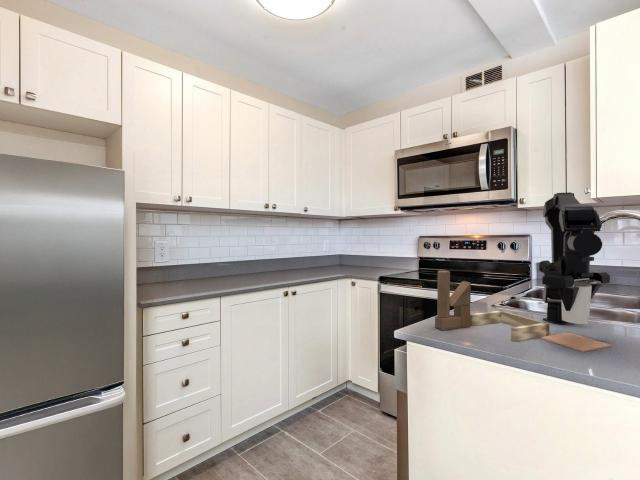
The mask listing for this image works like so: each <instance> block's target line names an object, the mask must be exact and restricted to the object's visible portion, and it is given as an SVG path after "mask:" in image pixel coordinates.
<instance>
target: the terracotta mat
mask: <svg viewBox="0 0 640 480" xmlns="http://www.w3.org/2000/svg"><path fill="white" fill-rule="evenodd" d="M540 339H542V340H545V341H547V342H551V343H554V344H557V345H560V346H563V347H566V348H569V349H572V350H575V351H578V352H582V353H584V352H589V351H595V350H599V349H604V348H609V347H612V344H609V343H606V342H603V341H599V340H596V339H592V338H588V337H585V336H581V335H578V334H574V333H572V332H571V333H570V332H562V333H556V334H552V335H551V334H549V336H544V337H540Z"/></svg>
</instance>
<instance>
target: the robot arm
mask: <svg viewBox="0 0 640 480" xmlns="http://www.w3.org/2000/svg"><path fill="white" fill-rule="evenodd" d="M542 216H543V218H545V219H544V220H545V224H546V225H547V227H548V228H549V230H550V239H551V240H550V241H551V244H550V245H551V249H550V250H551V262H550V260H549V259H548V260H541V261H539V263H538V271H539V272H540V273H543V276H542V277H541V284H542V285H544V287H543V291H542V301H543V303H544V304H547V308H546V317H543V318H542V320H543V321H545V322H546V321H547V322H550V323H553V324H557V325H559V326H560V325H569V324H571V325H572V323H569V322H566V321H563V320H562V302H563V304H564V307H565V310H566V311H570V310H571V308H572V306H573V304H574V302H575V299H576V296H577V293H578V290H579V287H574V283H582V284H588V285H591V286H592V290H591V300H592V299H593V297H595V295H596V294H597V292H598V291H599V289H600V288H602V287H603V284H610V283H611V276H610V275H609V273H608V272H606V271H598V270H591V262H594V261H595V255H597V254H598V253H599V252H600V251H601V250H602V248H603V242H602V239H601V237H600V236H598V235H597V234H596V233H595V232H601V229H602V221H601V218H600V215H599V213H598V212H597V210H596V209H594V206H592V205H590V204H582V203H581V202H579V200H578V199H577V198H576V197H575V193H574V192H571V191H570V192H567V191H566V192H556V193H554V194H553V196H552V197H551V198H549V199H547V200H546V201H545V202H544V205H543V209H542ZM593 232H594V233H593ZM598 282H600V284H599V283H598ZM561 299H562V302H561Z"/></svg>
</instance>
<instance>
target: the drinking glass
mask: <svg viewBox="0 0 640 480" xmlns="http://www.w3.org/2000/svg"><path fill="white" fill-rule="evenodd" d="M574 287H579V290H578V293H577V296H576V299H575V302H574V304H573V306H572V308H571V310H570V311H566V310H565V307H564V304H563V302H562V299H561V302H562V320H563V321H566V322H569V323H571V324H575V325H588V324H589V322H590V314H591V313H590V312H591V311H590V310H591V300H592V299H591V290H592V286H591V285H588V284H582V283H574Z"/></svg>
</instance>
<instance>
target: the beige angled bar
mask: <svg viewBox="0 0 640 480" xmlns="http://www.w3.org/2000/svg"><path fill="white" fill-rule="evenodd" d="M497 323H502V324H506V325H509V326H513V327H510V341H512V342H520V341H526V340H532V339H537V338H541V337H544V336H550V323H548V322H546V321H545V322H544V321H541V320H537V319H533V318H531V317H526V316H523V315H519V314H515V313H511V312H509V311H504V310H495V311H485V312H480V313H477V312H476V313H470V327H477V326H483V325H484V324H485V325H492V324H497ZM485 325H484V326H485Z"/></svg>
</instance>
